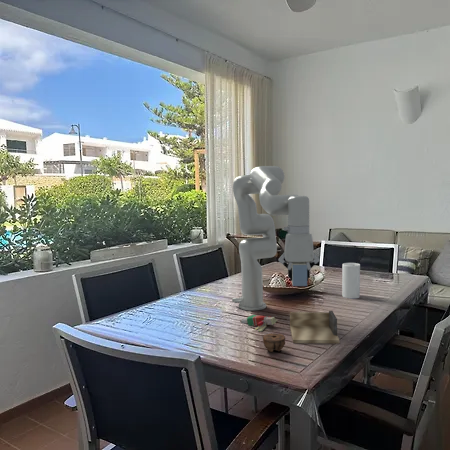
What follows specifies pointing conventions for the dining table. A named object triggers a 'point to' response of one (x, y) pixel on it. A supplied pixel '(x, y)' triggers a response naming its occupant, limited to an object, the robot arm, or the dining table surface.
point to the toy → (259, 321)
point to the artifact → (274, 341)
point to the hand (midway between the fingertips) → (298, 279)
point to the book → (299, 274)
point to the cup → (351, 280)
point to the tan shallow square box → (314, 327)
